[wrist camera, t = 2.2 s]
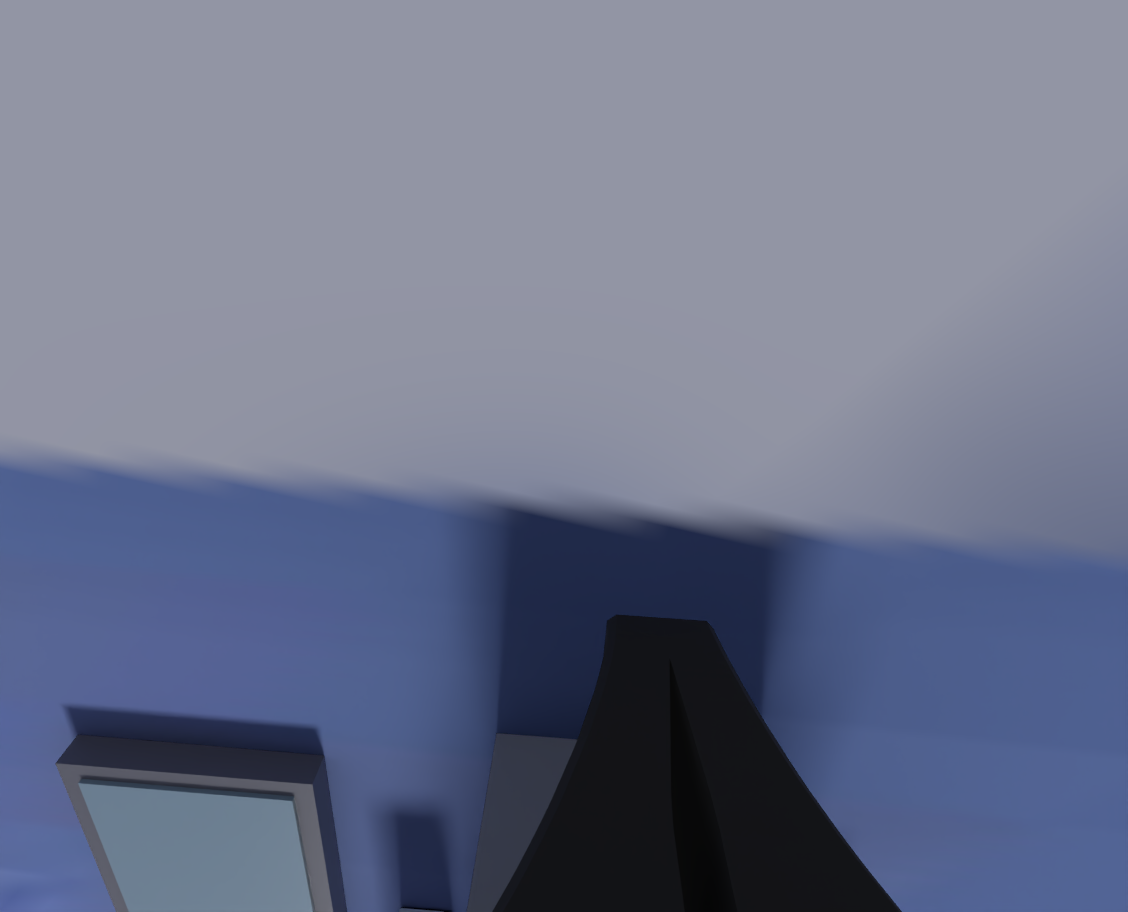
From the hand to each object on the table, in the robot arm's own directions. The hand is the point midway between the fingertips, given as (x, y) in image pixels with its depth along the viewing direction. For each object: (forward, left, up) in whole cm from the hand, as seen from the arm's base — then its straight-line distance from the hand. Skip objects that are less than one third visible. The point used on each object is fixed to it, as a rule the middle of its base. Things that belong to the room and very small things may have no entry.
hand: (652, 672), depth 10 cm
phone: (+8, +10, -3) cm, 13 cm away
